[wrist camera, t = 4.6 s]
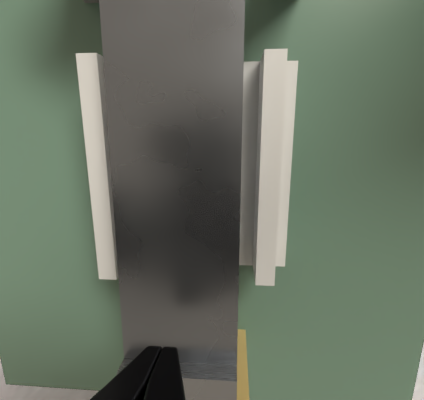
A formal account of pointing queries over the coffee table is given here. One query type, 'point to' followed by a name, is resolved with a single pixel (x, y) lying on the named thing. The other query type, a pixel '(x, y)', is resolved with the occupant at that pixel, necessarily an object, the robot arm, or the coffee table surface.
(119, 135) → the grey hinged lever
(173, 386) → the robot arm
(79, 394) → the coffee table surface
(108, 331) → the board
